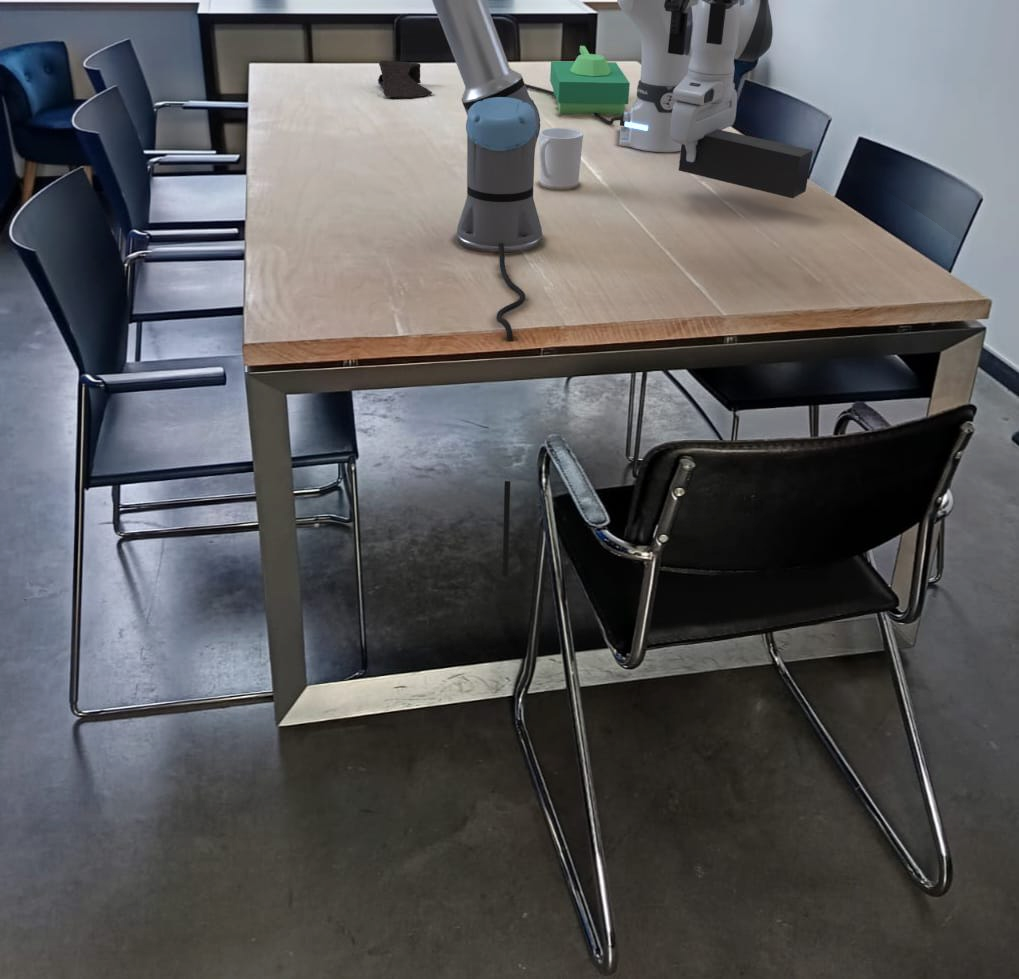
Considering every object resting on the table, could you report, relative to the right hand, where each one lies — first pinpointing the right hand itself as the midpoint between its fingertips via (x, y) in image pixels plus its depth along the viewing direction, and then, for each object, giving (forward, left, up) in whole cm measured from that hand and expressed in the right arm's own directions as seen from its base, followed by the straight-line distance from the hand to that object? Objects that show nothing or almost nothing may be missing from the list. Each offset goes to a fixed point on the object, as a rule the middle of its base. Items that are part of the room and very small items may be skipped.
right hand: (700, 157), depth 218 cm
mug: (-7, -28, -8) cm, 30 cm away
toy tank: (-84, -10, -8) cm, 85 cm away
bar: (+6, +7, -3) cm, 10 cm away
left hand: (+19, -8, +23) cm, 31 cm away
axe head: (-98, -59, -8) cm, 114 cm away
